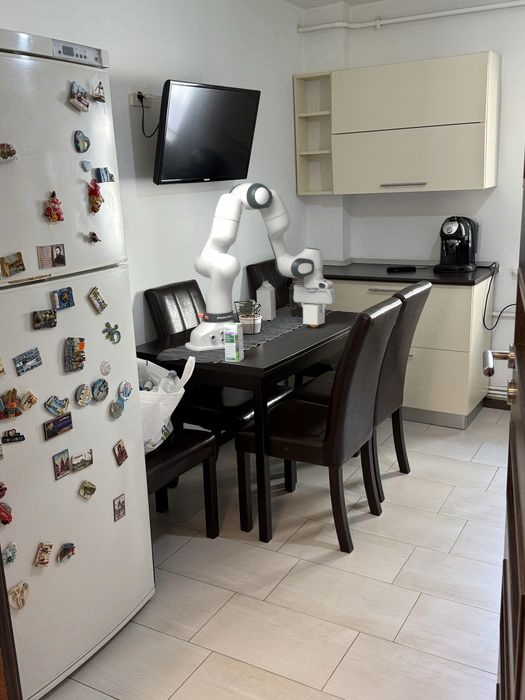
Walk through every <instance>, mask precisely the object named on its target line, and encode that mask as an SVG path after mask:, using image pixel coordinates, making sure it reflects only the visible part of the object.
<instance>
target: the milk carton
mask: <svg viewBox="0 0 525 700" xmlns="http://www.w3.org/2000/svg"><path fill="white" fill-rule="evenodd" d="M257 303H258V304H260V305H261V308H260V311H259V312H257V315H258V314H260V315H262V320H261V321H267V320H271V321H273V320H275V319H276V318H277V315H276V314H277V313H276V311H277V310H276V309H277V308H276V289H275V287H274V286H273V285H272V284H271V283H269V280H266V281H263V282H262V285H261V286H260V287H259V288H258V289H257V290H256V304H257ZM274 318H275V319H274Z"/></svg>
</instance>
